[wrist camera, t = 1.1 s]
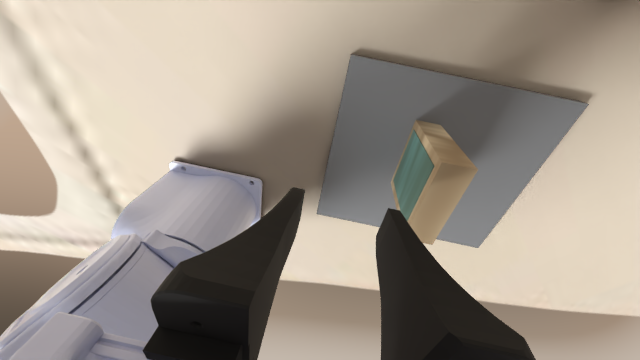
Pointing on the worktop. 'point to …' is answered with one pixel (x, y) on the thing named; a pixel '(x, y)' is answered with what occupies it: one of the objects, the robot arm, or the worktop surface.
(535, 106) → the mat
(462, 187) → the wooden block
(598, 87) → the worktop surface
